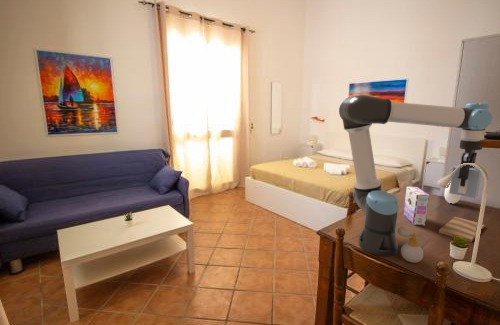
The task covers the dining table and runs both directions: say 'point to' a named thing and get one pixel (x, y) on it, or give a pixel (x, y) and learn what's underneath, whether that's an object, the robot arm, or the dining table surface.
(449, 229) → the striped wooden board
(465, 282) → the dining table surface
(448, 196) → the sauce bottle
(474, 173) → the slate block
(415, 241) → the perfume bottle
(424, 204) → the candy box
